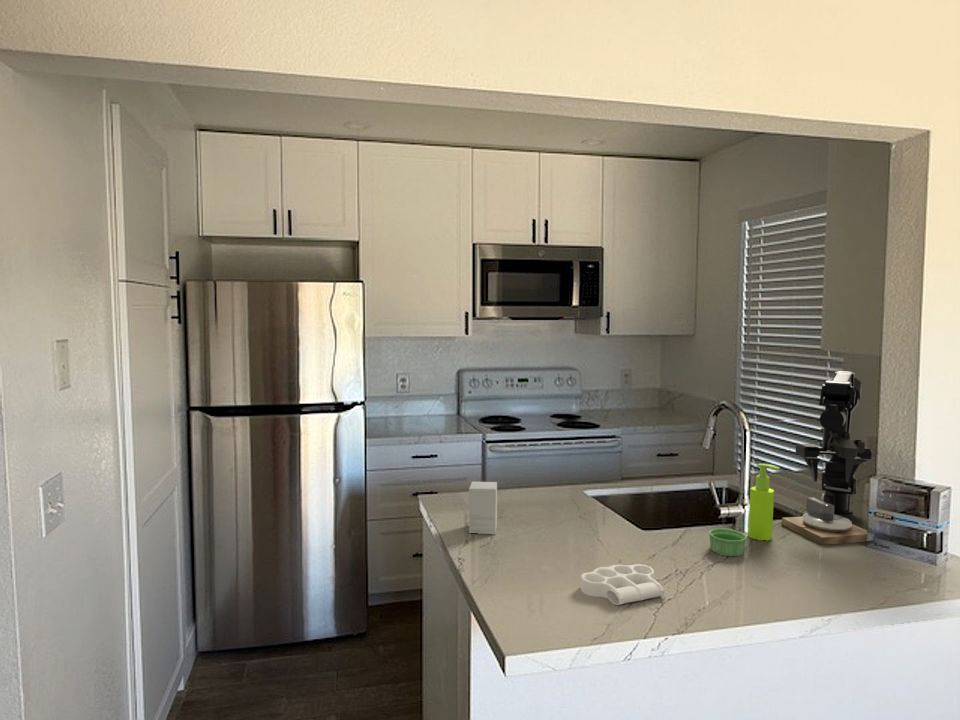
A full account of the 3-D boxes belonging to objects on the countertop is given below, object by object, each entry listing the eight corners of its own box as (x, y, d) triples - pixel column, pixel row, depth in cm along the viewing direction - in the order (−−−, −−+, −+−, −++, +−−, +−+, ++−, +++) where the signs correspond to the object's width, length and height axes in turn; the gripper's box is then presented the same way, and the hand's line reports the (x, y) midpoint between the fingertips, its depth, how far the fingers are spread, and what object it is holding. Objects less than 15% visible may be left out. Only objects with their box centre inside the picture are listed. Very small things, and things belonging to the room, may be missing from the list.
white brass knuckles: (605, 612, 135) (569, 583, 148) (676, 597, 142) (635, 571, 155) (606, 596, 135) (569, 569, 148) (677, 582, 142) (635, 558, 155)
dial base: (830, 521, 192) (830, 513, 192) (873, 540, 176) (874, 532, 176) (781, 524, 189) (782, 517, 188) (821, 544, 173) (822, 536, 173)
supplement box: (497, 525, 185) (498, 481, 184) (495, 535, 177) (496, 489, 176) (471, 524, 185) (471, 480, 184) (468, 533, 178) (468, 488, 177)
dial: (861, 530, 178) (863, 510, 177) (823, 533, 175) (824, 513, 175) (827, 515, 190) (828, 496, 190) (790, 517, 188) (791, 498, 187)
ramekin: (749, 559, 163) (749, 542, 163) (710, 556, 165) (711, 539, 164) (742, 546, 172) (743, 529, 171) (706, 543, 174) (706, 527, 173)
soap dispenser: (772, 543, 174) (776, 468, 172) (745, 537, 178) (749, 464, 176) (778, 537, 179) (782, 464, 177) (751, 531, 183) (755, 460, 181)
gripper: (816, 430, 175) (812, 488, 176) (886, 432, 175) (882, 490, 176) (796, 423, 186) (792, 478, 187) (862, 425, 186) (858, 480, 187)
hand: (831, 481), depth 184 cm, fingers open, 9 cm apart
